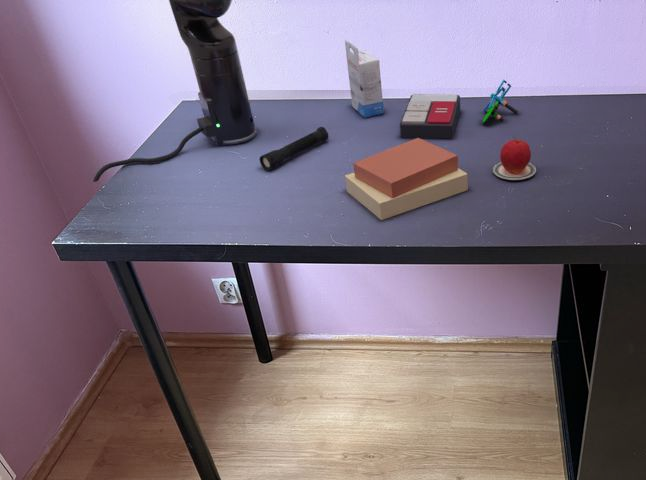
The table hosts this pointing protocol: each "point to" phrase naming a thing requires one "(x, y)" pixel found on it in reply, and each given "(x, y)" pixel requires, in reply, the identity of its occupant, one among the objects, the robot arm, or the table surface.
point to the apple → (515, 161)
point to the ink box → (364, 81)
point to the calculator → (430, 116)
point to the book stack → (405, 178)
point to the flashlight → (292, 149)
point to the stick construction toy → (500, 101)
